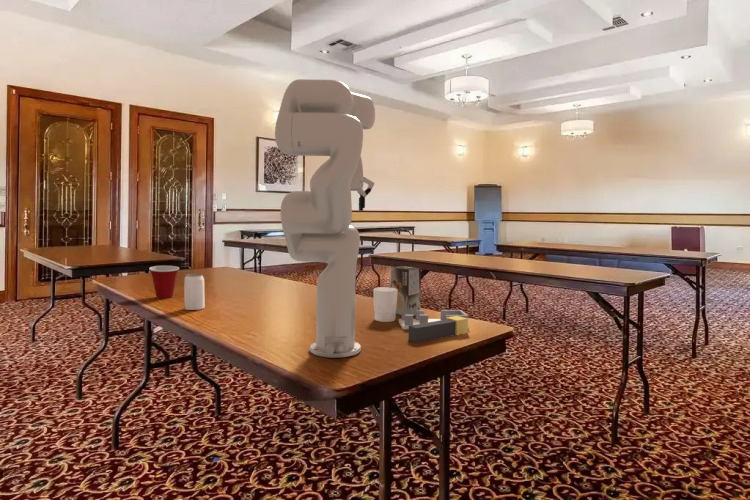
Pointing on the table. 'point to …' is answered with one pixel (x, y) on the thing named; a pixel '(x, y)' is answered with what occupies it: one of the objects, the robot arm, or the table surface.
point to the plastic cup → (164, 280)
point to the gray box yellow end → (438, 329)
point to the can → (194, 292)
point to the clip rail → (426, 317)
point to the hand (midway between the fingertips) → (344, 210)
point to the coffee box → (407, 288)
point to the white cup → (385, 304)
